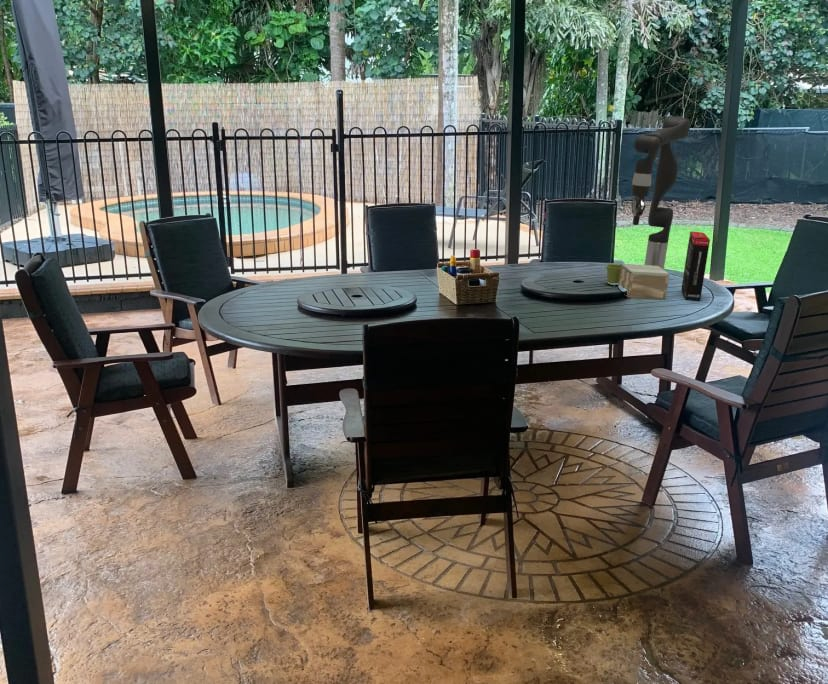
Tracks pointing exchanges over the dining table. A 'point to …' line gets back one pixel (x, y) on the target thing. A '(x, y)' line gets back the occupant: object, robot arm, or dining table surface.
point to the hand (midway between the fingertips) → (635, 224)
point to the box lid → (644, 269)
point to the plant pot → (613, 273)
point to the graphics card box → (695, 265)
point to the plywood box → (643, 285)
